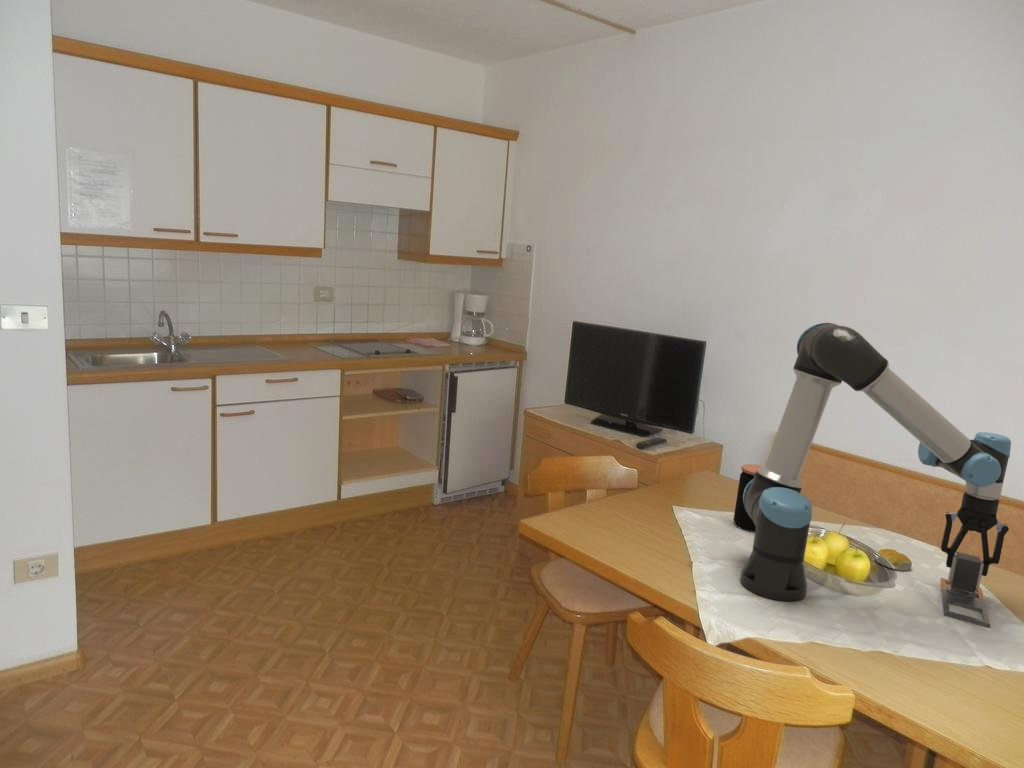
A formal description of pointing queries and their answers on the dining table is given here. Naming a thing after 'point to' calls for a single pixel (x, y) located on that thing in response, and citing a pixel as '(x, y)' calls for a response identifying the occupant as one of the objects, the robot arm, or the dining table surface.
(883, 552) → the bread roll
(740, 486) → the coffee jar
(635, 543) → the dining table surface
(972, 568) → the block
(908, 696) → the dining table surface
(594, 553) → the dining table surface
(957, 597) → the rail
